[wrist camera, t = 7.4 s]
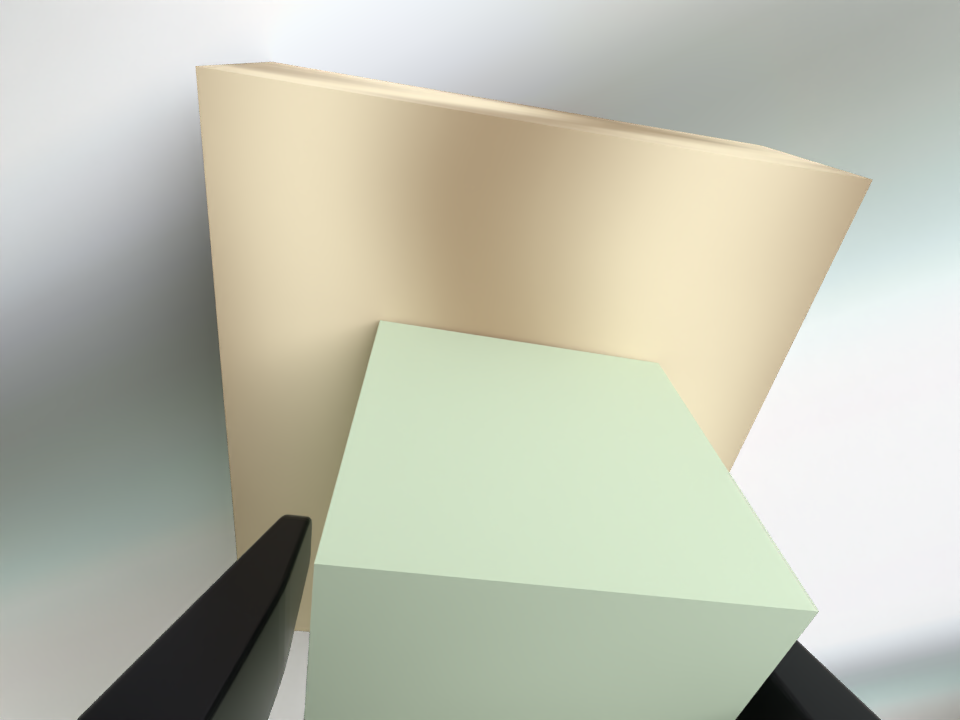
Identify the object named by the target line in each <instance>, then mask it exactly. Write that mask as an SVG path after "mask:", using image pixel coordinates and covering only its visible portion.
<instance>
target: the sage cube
mask: <svg viewBox="0 0 960 720" xmlns="http://www.w3.org/2000/svg"><path fill="white" fill-rule="evenodd" d="M818 612H819V611H818V610H817V608H816V606H815V605H814V603H813V602H812V600H811V599H810V597H809V596H808V594H807V593H806V591H805V589H804V588H803V586H802V585H801V583H800V582H799V580H798V579H797V577H796V575H795V574H794V572H793V571H792V569H791V568H790V566H789V565H788V563H787V562H786V560H785V558H784V557H783V555H782V554H781V552H780V551H779V549H778V548H777V546H776V544H775V543H774V541H773V540H772V538H771V537H770V535H769V534H768V532H767V531H766V529H765V527H764V526H763V524H762V523H761V521H760V520H759V518H758V517H757V515H756V513H755V512H754V510H753V509H752V507H751V506H750V504H749V503H748V501H747V499H746V498H745V496H744V495H743V493H742V492H741V490H740V489H739V487H738V486H737V484H736V482H735V481H734V479H733V478H732V476H731V475H730V473H729V472H728V470H727V468H726V467H725V465H724V464H723V462H722V461H721V459H720V458H719V456H718V455H717V453H716V451H715V450H714V448H713V447H712V445H711V444H710V442H709V441H708V439H707V437H706V436H705V434H704V433H703V431H702V430H701V428H700V427H699V425H698V424H697V422H696V420H695V419H694V417H693V416H692V414H691V413H690V411H689V410H688V408H687V406H686V405H685V403H684V402H683V400H682V399H681V397H680V396H679V394H678V393H677V391H676V389H675V388H674V386H673V385H672V383H671V382H670V380H669V379H668V377H667V375H666V374H665V372H664V371H663V369H662V368H661V366H660V365H659V363H655V362H648V361H642V360H635V359H629V358H622V357H616V356H609V355H603V354H596V353H590V352H583V351H577V350H570V349H564V348H557V347H551V346H544V345H538V344H531V343H525V342H518V341H512V340H505V339H499V338H492V337H486V336H479V335H473V334H466V333H460V332H453V331H447V330H440V329H434V328H427V327H421V326H414V325H408V324H401V323H395V322H388V321H382V320H380V322H379V326H378V330H377V333H376V337H375V341H374V344H373V348H372V352H371V355H370V359H369V363H368V367H367V370H366V374H365V378H364V381H363V385H362V389H361V392H360V396H359V400H358V404H357V407H356V411H355V415H354V418H353V422H352V426H351V429H350V433H349V437H348V440H347V444H346V448H345V452H344V455H343V459H342V463H341V466H340V470H339V474H338V477H337V481H336V485H335V489H334V492H333V496H332V500H331V503H330V507H329V511H328V514H327V518H326V522H325V526H324V529H323V533H322V537H321V540H320V544H319V548H318V551H317V555H316V559H315V562H314V574H313V589H312V605H311V620H310V636H309V651H308V666H307V682H306V697H305V712H304V720H735V719H736V718H737V717H738V715H739V714H740V713H741V712H742V710H743V709H744V708H745V706H746V705H747V704H748V702H749V701H750V700H751V699H752V697H753V696H754V695H755V693H756V692H757V691H758V690H759V688H760V687H761V686H762V684H763V683H764V682H765V680H766V679H767V678H768V677H769V675H770V674H771V673H772V671H773V670H774V669H775V668H776V666H777V665H778V664H779V662H780V661H781V660H782V658H783V657H784V656H785V655H786V653H787V652H788V651H789V649H790V648H791V647H792V646H793V644H794V643H795V642H796V640H797V639H798V638H799V636H800V635H801V634H802V633H803V631H804V630H805V629H806V627H807V626H808V625H809V623H810V622H811V621H812V620H813V618H814V617H815V616H816V614H817V613H818Z"/></svg>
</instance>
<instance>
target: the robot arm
mask: <svg viewBox="0 0 960 720" xmlns="http://www.w3.org/2000/svg"><path fill="white" fill-rule="evenodd" d="M311 536H312V520H311V518H310V517H308V516H299V515H290V514H286V515H283V516H282V517H280V518H279V519H278V520H277V521H276V522H275V523H274V524H273V525H272V526H271V527H270V528H269V529H268V530H267V531H266V532H265V533H264V534H263V535H262V536H261V537H260V538H259V539H258V540H257V541H256V542H255V543H254V544H253V545H252V546H251V547H250V548H249V549H248V550H247V551H246V552H245V553H244V554H243V555H242V556H241V557H240V558H239V559H238V560H237V561H236V562H235V563H234V564H233V565H232V566H231V567H230V568H229V569H228V570H227V571H226V572H225V573H224V574H223V575H222V576H221V577H220V578H219V579H218V580H217V581H216V582H215V583H214V584H213V585H212V586H211V587H210V588H209V589H208V590H207V591H206V592H205V593H204V594H203V595H202V596H201V597H200V598H199V599H198V600H197V601H196V602H195V603H194V604H193V605H192V606H191V607H190V608H189V609H188V610H187V611H186V612H185V613H184V614H183V615H182V616H181V617H180V618H179V619H178V620H177V621H176V622H174V623H173V624H172V625H171V626H170V627H169V628H168V629H167V630H166V631H165V632H164V633H163V634H162V635H161V636H160V637H159V638H158V639H157V640H156V641H155V642H154V643H153V644H152V645H151V646H150V647H149V648H148V649H147V650H146V651H145V652H144V653H143V654H142V655H141V656H140V657H139V658H138V659H137V660H136V661H135V662H134V663H133V664H132V665H131V666H130V667H129V668H128V669H127V670H126V671H125V672H124V673H123V674H122V675H121V676H120V677H119V678H118V679H117V680H116V681H115V682H114V683H113V684H112V685H111V686H110V687H109V688H108V689H107V690H106V691H105V692H104V693H103V694H102V695H101V696H100V697H99V698H98V699H97V700H96V701H95V702H94V703H93V704H92V705H91V706H90V707H89V708H88V709H87V710H86V711H85V712H84V713H83V714H82V715H81V716H80V717H79V718H78V719H77V720H268V718H269V715H270V712H271V709H272V706H273V704H274V701H275V698H276V695H277V692H278V689H279V686H280V683H281V680H282V677H283V674H284V670H285V666H286V663H287V659H288V655H289V651H290V646H291V642H292V638H293V633H294V629H295V625H296V620H297V616H298V612H299V607H300V603H301V599H302V595H303V590H304V586H305V582H306V577H307V573H308V568H309V563H310V555H311ZM735 720H881V719H880V718H879V717H878V716H876V715H875V714H874V713H873V712H872V711H871V710H870V709H869V708H868V707H867V706H866V705H865V704H864V703H863V702H862V701H861V700H860V699H859V698H857V697H856V696H855V695H854V694H853V693H852V692H851V691H850V690H849V689H848V688H847V687H846V686H845V685H844V684H843V683H842V682H841V681H840V680H838V679H837V678H836V677H835V676H834V675H833V674H832V673H831V672H830V671H829V670H828V669H827V668H826V667H825V666H824V665H823V664H822V663H821V662H819V661H818V660H817V659H816V658H815V657H814V656H813V655H812V654H811V653H810V652H809V651H808V650H807V649H806V648H805V647H804V646H803V645H802V644H800V643H799V642H798V641H797V640H796V642H795V643H794V644H793V646H792V647H791V648H790V649H789V651H788V652H787V653H786V655H785V656H784V657H783V658H782V660H781V661H780V662H779V664H778V665H777V666H776V668H775V669H774V670H773V671H772V673H771V674H770V675H769V677H768V678H767V679H766V680H765V682H764V683H763V684H762V686H761V687H760V688H759V690H758V691H757V692H756V693H755V695H754V696H753V697H752V699H751V700H750V701H749V702H748V704H747V705H746V706H745V708H744V709H743V710H742V712H741V713H740V714H739V715H738V717H737V718H736V719H735Z"/></svg>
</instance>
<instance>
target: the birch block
mask: <svg viewBox="0 0 960 720" xmlns="http://www.w3.org/2000/svg"><path fill="white" fill-rule="evenodd" d="M196 77H197V89H198V100H199V112H200V124H201V136H202V148H203V159H204V171H205V183H206V195H207V207H208V218H209V230H210V242H211V254H212V266H213V277H214V289H215V301H216V313H217V325H218V337H219V348H220V360H221V372H222V384H223V396H224V407H225V419H226V431H227V443H228V455H229V466H230V478H231V490H232V502H233V514H234V525H235V537H236V549H237V560H238V559H239V558H240V557H241V556H242V555H243V554H244V553H245V552H246V551H247V550H248V549H249V548H250V547H251V546H252V545H253V544H254V543H255V542H256V541H257V540H258V539H259V538H260V537H261V536H262V535H263V534H264V533H265V532H266V531H267V530H268V529H269V528H270V527H271V526H272V525H273V524H274V523H275V522H276V521H277V520H278V519H279V518H280V517H282V516H283V515H286V514H290V515H299V516H308V517H310V518H311V520H312V536H311V555H310V563H309V568H308V573H307V577H306V582H305V586H304V590H303V595H302V599H301V603H300V607H299V612H298V616H297V620H296V625H295V629H294V631H308V632H310V620H311V605H312V589H313V574H314V562H315V559H316V555H317V551H318V548H319V544H320V540H321V537H322V533H323V529H324V526H325V522H326V518H327V514H328V511H329V507H330V503H331V500H332V496H333V492H334V489H335V485H336V481H337V477H338V474H339V470H340V466H341V463H342V459H343V455H344V452H345V448H346V444H347V440H348V437H349V433H350V429H351V426H352V422H353V418H354V415H355V411H356V407H357V404H358V400H359V396H360V392H361V389H362V385H363V381H364V378H365V374H366V370H367V367H368V363H369V359H370V355H371V352H372V348H373V344H374V341H375V337H376V333H377V330H378V326H379V322H380V320H382V321H388V322H395V323H401V324H408V325H414V326H421V327H427V328H434V329H440V330H447V331H453V332H460V333H466V334H473V335H479V336H486V337H492V338H499V339H505V340H512V341H518V342H525V343H531V344H538V345H544V346H551V347H557V348H564V349H570V350H577V351H583V352H590V353H596V354H603V355H609V356H616V357H622V358H629V359H635V360H642V361H648V362H655V363H659V365H660V366H661V368H662V369H663V371H664V372H665V374H666V375H667V377H668V379H669V380H670V382H671V383H672V385H673V386H674V388H675V389H676V391H677V393H678V394H679V396H680V397H681V399H682V400H683V402H684V403H685V405H686V406H687V408H688V410H689V411H690V413H691V414H692V416H693V417H694V419H695V420H696V422H697V424H698V425H699V427H700V428H701V430H702V431H703V433H704V434H705V436H706V437H707V439H708V441H709V442H710V444H711V445H712V447H713V448H714V450H715V451H716V453H717V455H718V456H719V458H720V459H721V461H722V462H723V464H724V465H725V467H726V468H727V470H728V472H730V470H731V468H732V466H733V464H734V462H735V460H736V458H737V456H738V454H739V451H740V449H741V447H742V445H743V443H744V441H745V439H746V437H747V435H748V433H749V431H750V429H751V427H752V425H753V423H754V421H755V419H756V417H757V415H758V413H759V411H760V409H761V407H762V404H763V402H764V400H765V398H766V396H767V394H768V392H769V390H770V388H771V386H772V384H773V382H774V380H775V378H776V376H777V374H778V372H779V370H780V368H781V366H782V364H783V362H784V360H785V357H786V355H787V353H788V351H789V349H790V347H791V345H792V343H793V341H794V339H795V337H796V335H797V333H798V331H799V329H800V327H801V325H802V323H803V321H804V319H805V317H806V315H807V313H808V310H809V308H810V306H811V304H812V302H813V300H814V298H815V296H816V294H817V292H818V290H819V288H820V286H821V284H822V282H823V280H824V278H825V276H826V274H827V272H828V270H829V268H830V266H831V264H832V261H833V259H834V257H835V255H836V253H837V251H838V249H839V247H840V245H841V243H842V241H843V239H844V237H845V235H846V233H847V231H848V229H849V227H850V225H851V223H852V221H853V219H854V217H855V214H856V212H857V210H858V208H859V206H860V204H861V202H862V200H863V198H864V196H865V194H866V192H867V190H868V188H869V186H870V184H871V182H872V179H868V178H865V177H862V176H859V175H855V174H852V173H849V172H846V171H842V170H839V169H836V168H833V167H829V166H826V165H823V164H820V163H816V162H813V161H810V160H807V159H803V158H800V157H797V156H794V155H790V154H787V153H784V152H781V151H777V150H774V149H771V148H768V147H764V146H761V145H755V144H749V143H743V142H737V141H732V140H726V139H720V138H714V137H708V136H702V135H697V134H691V133H685V132H679V131H673V130H667V129H661V128H656V127H650V126H644V125H638V124H632V123H626V122H621V121H615V120H609V119H603V118H597V117H591V116H586V115H580V114H574V113H568V112H562V111H556V110H550V109H545V108H539V107H533V106H527V105H521V104H515V103H510V102H504V101H498V100H492V99H486V98H480V97H474V96H469V95H463V94H457V93H451V92H445V91H439V90H434V89H428V88H422V87H416V86H410V85H404V84H399V83H393V82H387V81H381V80H375V79H369V78H363V77H358V76H352V75H346V74H340V73H334V72H328V71H323V70H317V69H311V68H305V67H299V66H293V65H288V64H282V63H276V62H261V63H243V64H225V65H208V66H196Z"/></svg>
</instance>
